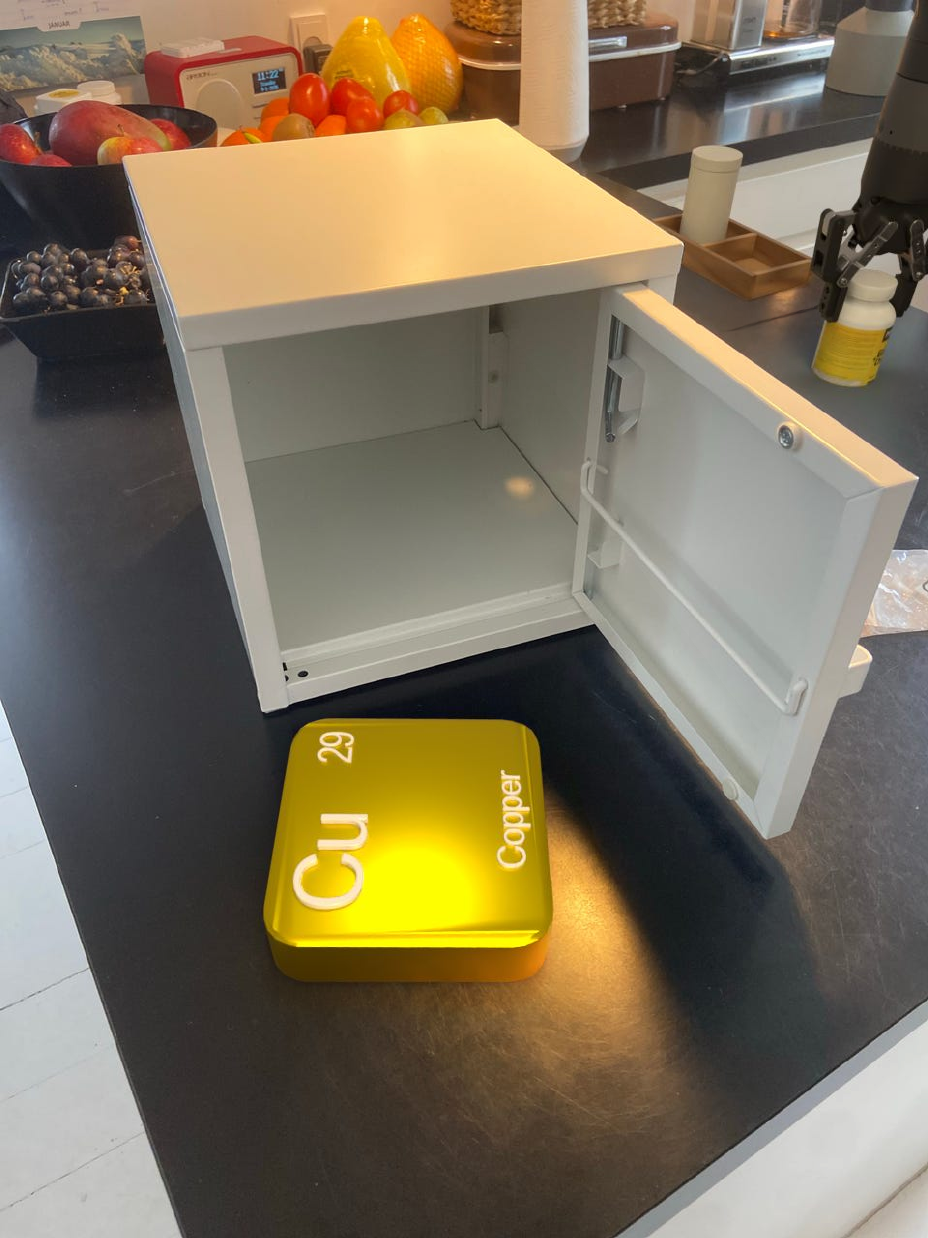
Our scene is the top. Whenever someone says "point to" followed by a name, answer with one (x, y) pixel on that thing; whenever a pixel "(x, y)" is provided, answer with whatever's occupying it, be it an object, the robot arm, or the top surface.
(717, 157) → the beige lidded canister
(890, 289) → the pill bottle
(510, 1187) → the top surface
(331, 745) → the element tile
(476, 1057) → the top surface
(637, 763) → the top surface
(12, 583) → the top surface
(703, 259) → the tray
